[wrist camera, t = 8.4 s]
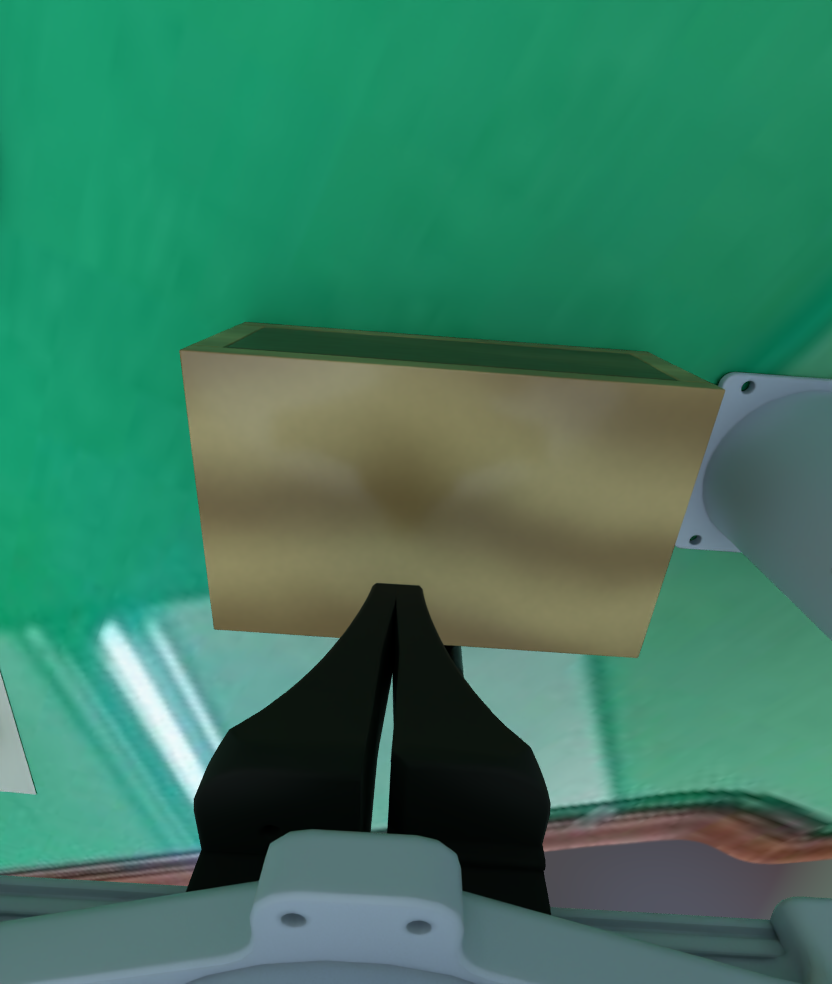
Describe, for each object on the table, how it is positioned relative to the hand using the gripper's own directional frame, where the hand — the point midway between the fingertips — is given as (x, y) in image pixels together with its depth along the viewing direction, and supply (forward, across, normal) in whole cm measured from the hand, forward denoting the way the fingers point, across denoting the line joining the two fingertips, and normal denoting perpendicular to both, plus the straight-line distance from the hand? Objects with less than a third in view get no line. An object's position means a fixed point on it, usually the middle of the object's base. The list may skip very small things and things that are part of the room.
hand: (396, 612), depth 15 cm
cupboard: (+9, -1, -2) cm, 10 cm away
